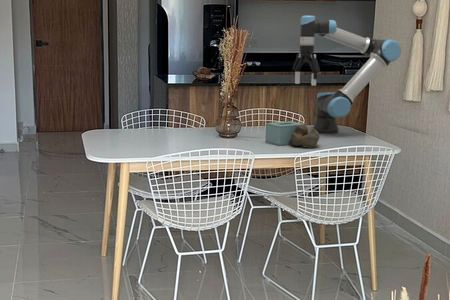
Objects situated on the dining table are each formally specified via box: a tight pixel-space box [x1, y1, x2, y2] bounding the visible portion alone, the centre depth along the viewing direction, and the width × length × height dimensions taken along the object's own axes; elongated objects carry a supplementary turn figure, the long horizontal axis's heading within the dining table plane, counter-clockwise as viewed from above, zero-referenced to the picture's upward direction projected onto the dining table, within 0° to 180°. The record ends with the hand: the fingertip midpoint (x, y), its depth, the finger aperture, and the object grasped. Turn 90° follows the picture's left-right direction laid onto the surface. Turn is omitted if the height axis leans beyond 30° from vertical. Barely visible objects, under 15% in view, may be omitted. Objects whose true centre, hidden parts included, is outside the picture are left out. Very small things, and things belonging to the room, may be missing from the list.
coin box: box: [264, 120, 306, 147], centre depth 308 cm, size 16×12×10 cm
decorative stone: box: [289, 124, 320, 149], centre depth 299 cm, size 16×11×15 cm
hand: (305, 84), depth 324 cm, fingers open, 13 cm apart
